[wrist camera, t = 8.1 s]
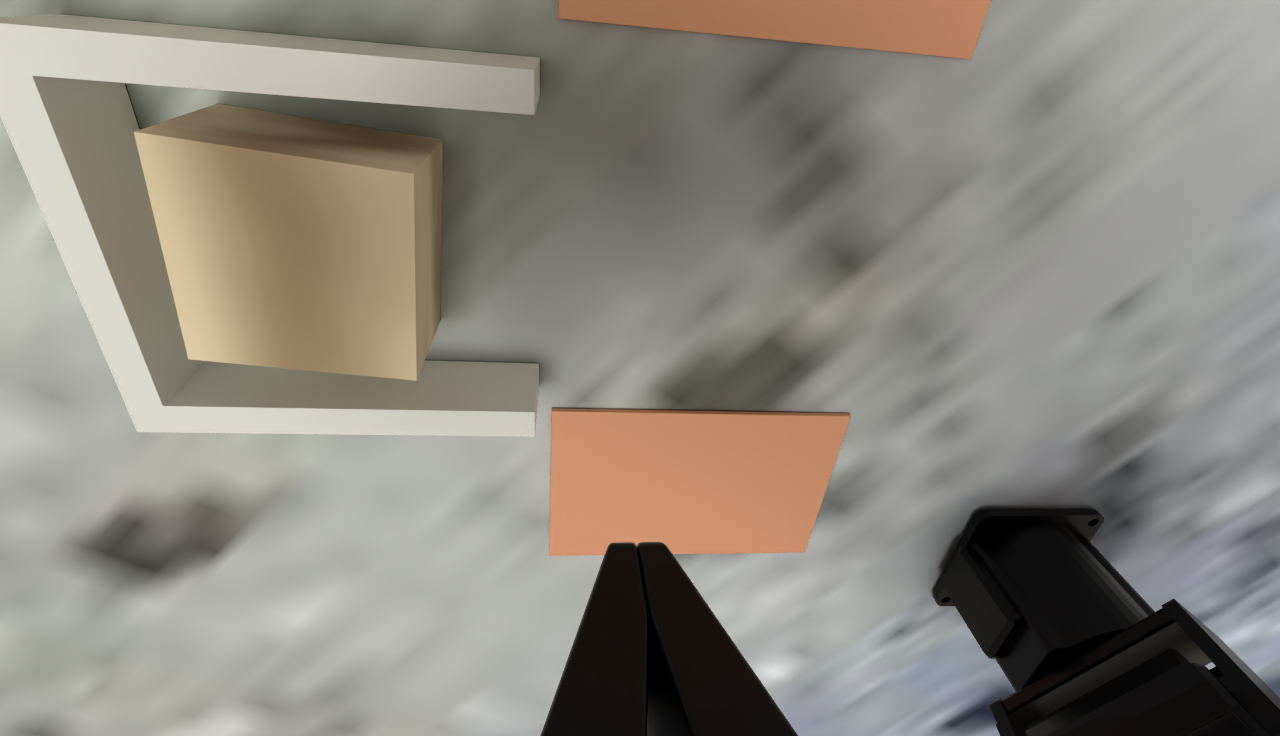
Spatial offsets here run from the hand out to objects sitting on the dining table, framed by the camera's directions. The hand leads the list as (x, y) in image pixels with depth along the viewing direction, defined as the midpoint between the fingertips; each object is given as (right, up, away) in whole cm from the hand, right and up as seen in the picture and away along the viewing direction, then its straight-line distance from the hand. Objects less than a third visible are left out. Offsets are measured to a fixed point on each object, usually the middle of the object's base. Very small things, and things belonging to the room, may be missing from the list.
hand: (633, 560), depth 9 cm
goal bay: (-10, +7, +10) cm, 15 cm away
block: (-9, +7, +10) cm, 15 cm away
